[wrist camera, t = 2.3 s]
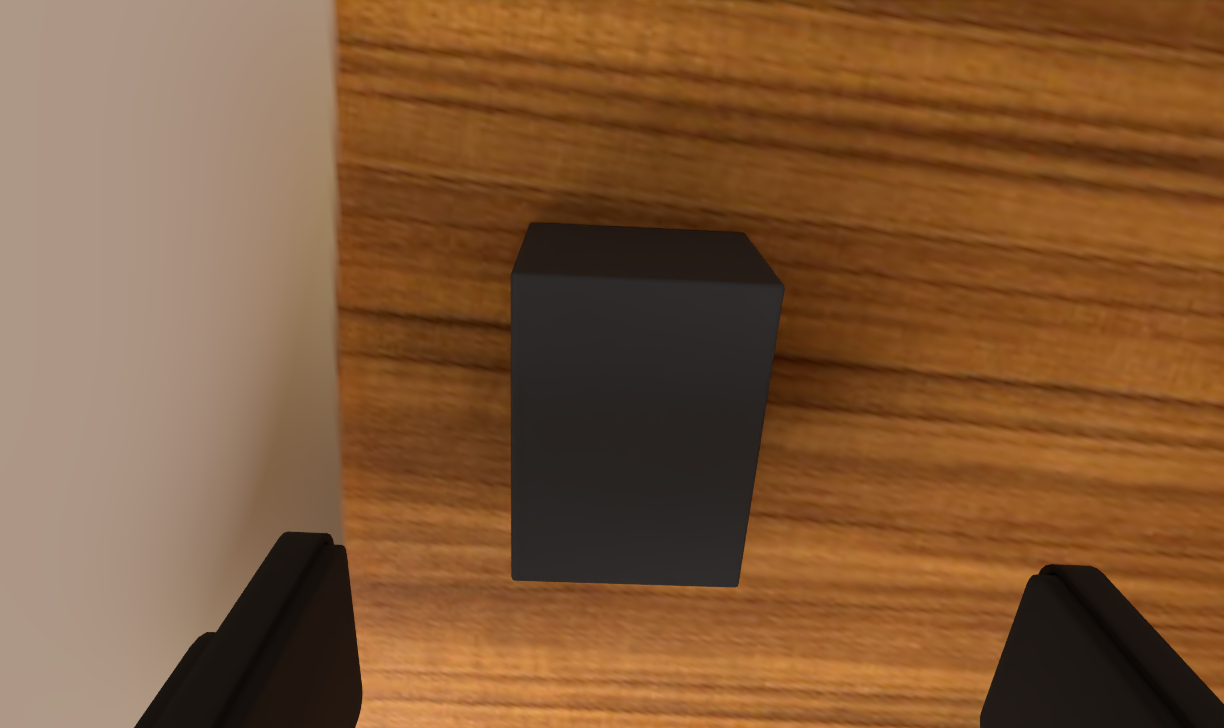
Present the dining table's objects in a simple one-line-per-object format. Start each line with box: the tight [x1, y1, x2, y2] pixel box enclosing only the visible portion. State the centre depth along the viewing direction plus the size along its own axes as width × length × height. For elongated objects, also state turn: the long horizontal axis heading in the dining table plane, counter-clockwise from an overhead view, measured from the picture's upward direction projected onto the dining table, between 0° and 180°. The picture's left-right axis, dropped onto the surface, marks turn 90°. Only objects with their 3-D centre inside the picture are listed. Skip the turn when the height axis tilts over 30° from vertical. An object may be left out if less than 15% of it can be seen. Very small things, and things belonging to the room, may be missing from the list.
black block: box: [511, 223, 785, 587], centre depth 16 cm, size 5×7×4 cm
